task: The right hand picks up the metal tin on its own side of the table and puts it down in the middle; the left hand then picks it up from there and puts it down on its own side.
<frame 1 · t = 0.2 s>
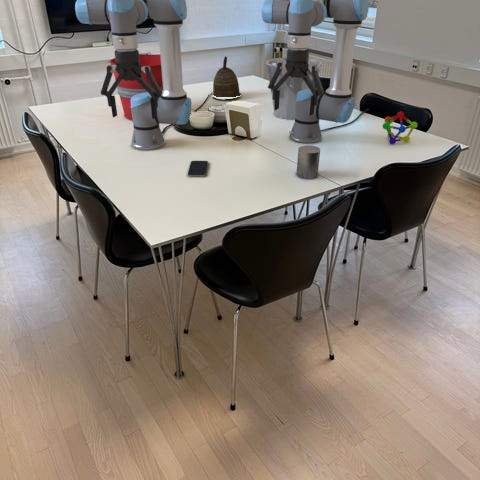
left hand: (134, 116, 150), 28 cm above the table, tool pointing down, fingers open, 13 cm apart
right hand: (293, 111, 160), 27 cm above the table, tool pointing down, fingers open, 13 cm apart
educational toy: (395, 143, 211), on the table
bucket: (290, 114, 250), on the table
bell: (226, 97, 281), on the table
tin: (307, 174, 178), on the table
smartphone: (198, 169, 183), on the table
bucket 2: (147, 114, 248), on the table
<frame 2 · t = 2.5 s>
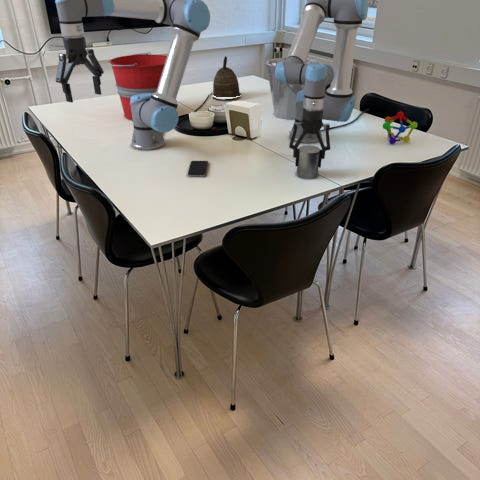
left hand: (84, 97, 167), 29 cm above the table, tool pointing down, fingers open, 13 cm apart
right hand: (307, 165, 176), 4 cm above the table, tool pointing down, fingers closed on tin, 8 cm apart
tin: (307, 174, 178), on the table, touching right hand
everything else where it was.
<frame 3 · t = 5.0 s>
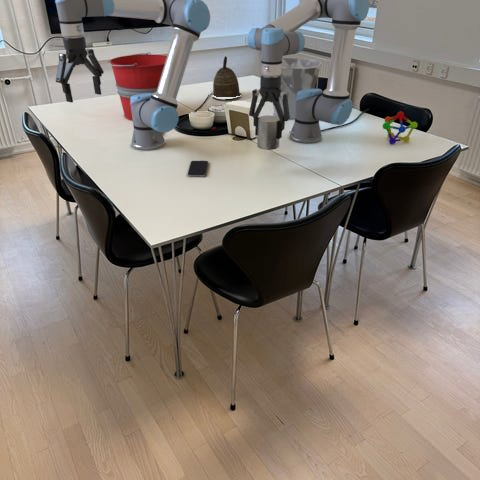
left hand: (84, 97, 167), 29 cm above the table, tool pointing down, fingers open, 13 cm apart
right hand: (268, 136, 172), 15 cm above the table, tool pointing down, fingers closed on tin, 8 cm apart
tin: (267, 146, 174), point 11 cm above the table, touching right hand
everything else where it was.
when the right hand's fingers open (5 cm above the table, at t = 7.3 s): tin drops 1 cm, on the table.
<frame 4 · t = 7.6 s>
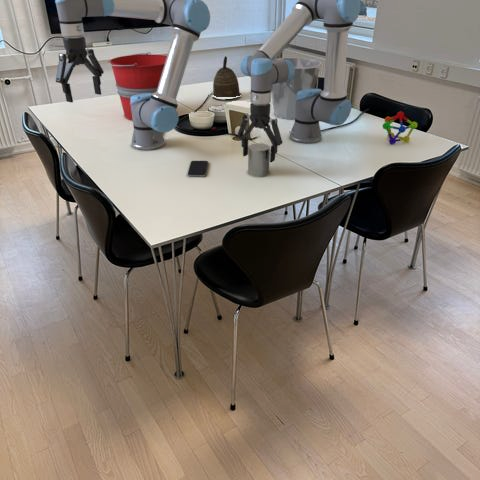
left hand: (84, 97, 167), 29 cm above the table, tool pointing down, fingers open, 13 cm apart
right hand: (258, 158, 177), 6 cm above the table, tool pointing down, fingers open, 11 cm apart
tin: (258, 172, 180), on the table
everything else where it was.
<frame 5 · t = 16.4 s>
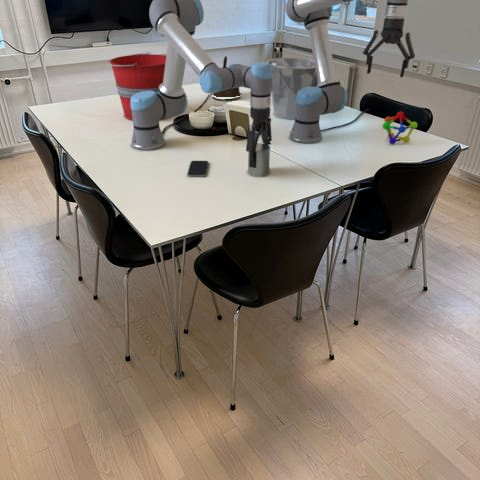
left hand: (258, 163, 178), 4 cm above the table, tool pointing down, fingers closed on tin, 8 cm apart
right hand: (384, 75, 182), 34 cm above the table, tool pointing down, fingers open, 13 cm apart
tin: (258, 172, 180), on the table, touching left hand
everything else where it was.
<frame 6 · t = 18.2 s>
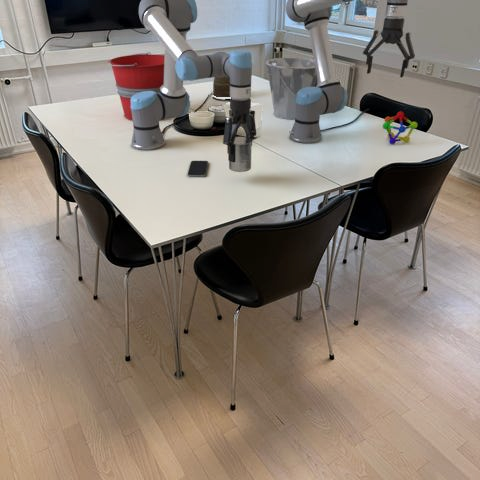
left hand: (239, 158, 169), 9 cm above the table, tool pointing down, fingers closed on tin, 8 cm apart
right hand: (384, 75, 182), 34 cm above the table, tool pointing down, fingers open, 13 cm apart
tin: (240, 167, 171), point 5 cm above the table, touching left hand
everything else where it was.
when the left hand's fingers open (5 cm above the table, at t = 20.3 s): tin drops 1 cm, on the table.
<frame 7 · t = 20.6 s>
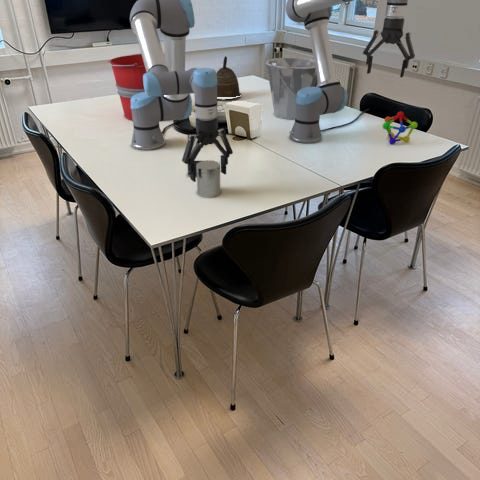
left hand: (208, 176, 161), 6 cm above the table, tool pointing down, fingers open, 12 cm apart
right hand: (384, 75, 182), 34 cm above the table, tool pointing down, fingers open, 13 cm apart
tin: (209, 192, 164), on the table
everything else where it was.
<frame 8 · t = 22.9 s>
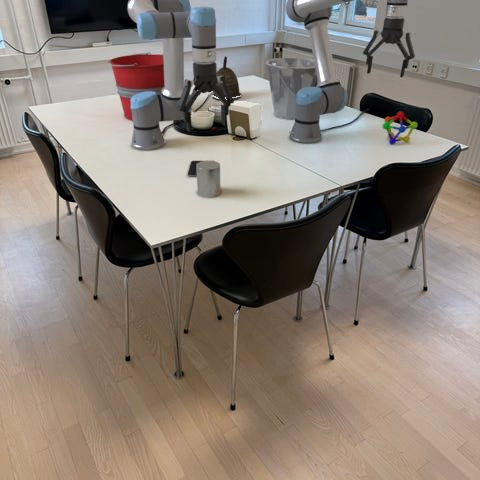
left hand: (206, 127, 151), 24 cm above the table, tool pointing down, fingers open, 13 cm apart
right hand: (384, 75, 182), 34 cm above the table, tool pointing down, fingers open, 13 cm apart
nothing on the table moved.
at the end: tin inside the target area (0.0 cm from its centre), on the table; tin tilted 0°; the two hands never held the tin at the same time; the left hand is holding nothing; the right hand is holding nothing; tin at rest at the end (0.0 cm/s) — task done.
